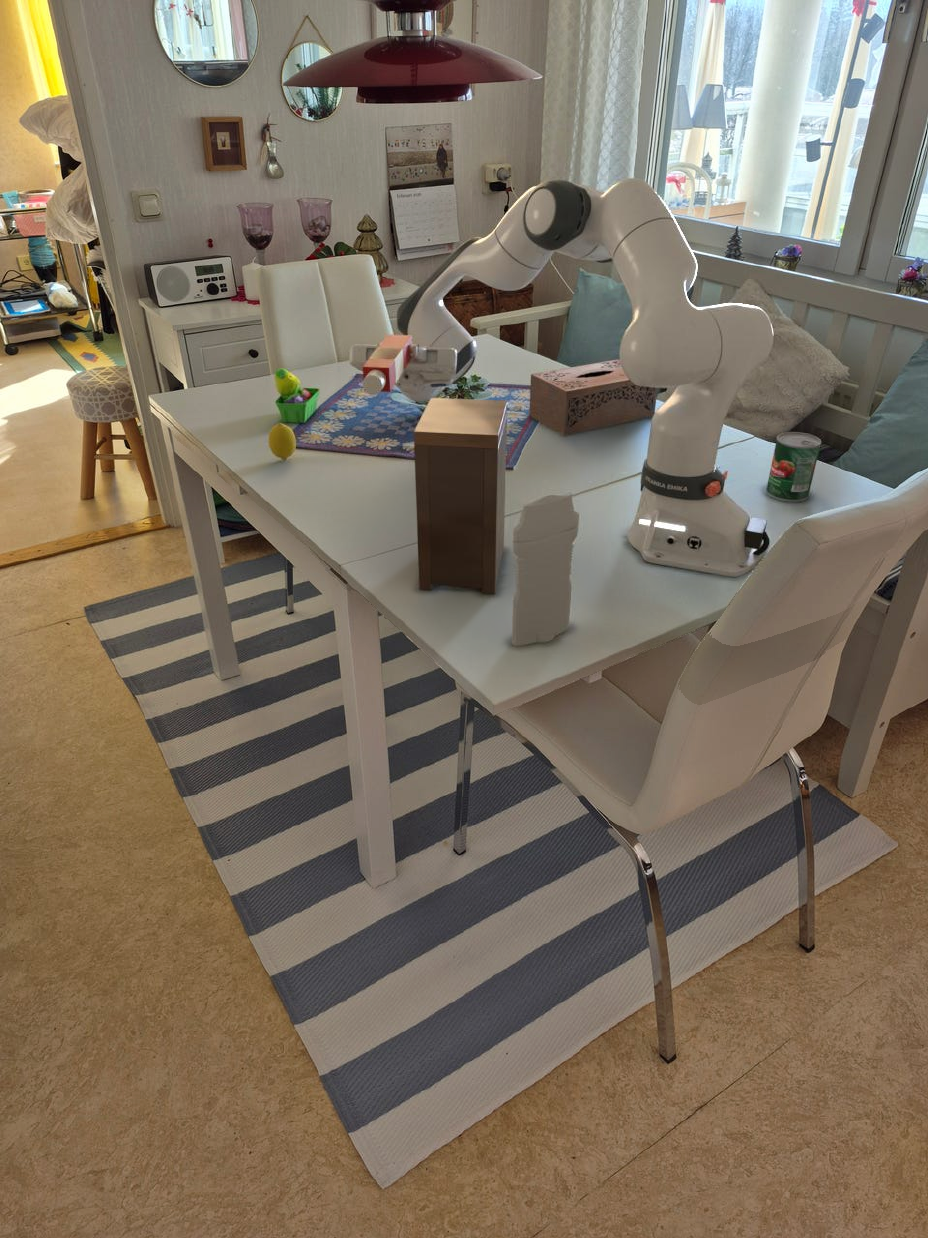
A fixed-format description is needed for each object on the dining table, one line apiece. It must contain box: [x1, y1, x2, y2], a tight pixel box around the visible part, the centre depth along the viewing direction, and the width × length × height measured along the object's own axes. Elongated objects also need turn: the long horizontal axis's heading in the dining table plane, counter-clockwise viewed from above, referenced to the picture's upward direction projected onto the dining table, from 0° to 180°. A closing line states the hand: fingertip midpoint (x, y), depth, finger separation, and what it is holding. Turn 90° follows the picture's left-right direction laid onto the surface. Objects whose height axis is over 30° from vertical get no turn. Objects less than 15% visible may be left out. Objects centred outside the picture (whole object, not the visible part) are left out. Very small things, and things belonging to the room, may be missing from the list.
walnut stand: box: [413, 397, 508, 595], centre depth 134 cm, size 15×12×26 cm
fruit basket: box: [274, 367, 321, 424], centre depth 200 cm, size 11×9×11 cm
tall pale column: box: [511, 492, 580, 647], centre depth 118 cm, size 11×4×22 cm, turn 120°
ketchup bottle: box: [362, 334, 412, 396], centre depth 147 cm, size 23×4×4 cm, turn 173°
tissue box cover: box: [528, 358, 658, 436], centre depth 200 cm, size 26×14×10 cm, turn 119°
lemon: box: [268, 422, 297, 461], centre depth 178 cm, size 6×6×8 cm
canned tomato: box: [765, 431, 822, 503], centre depth 163 cm, size 8×8×11 cm
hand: (396, 348), depth 154 cm, fingers closed on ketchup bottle, 4 cm apart
